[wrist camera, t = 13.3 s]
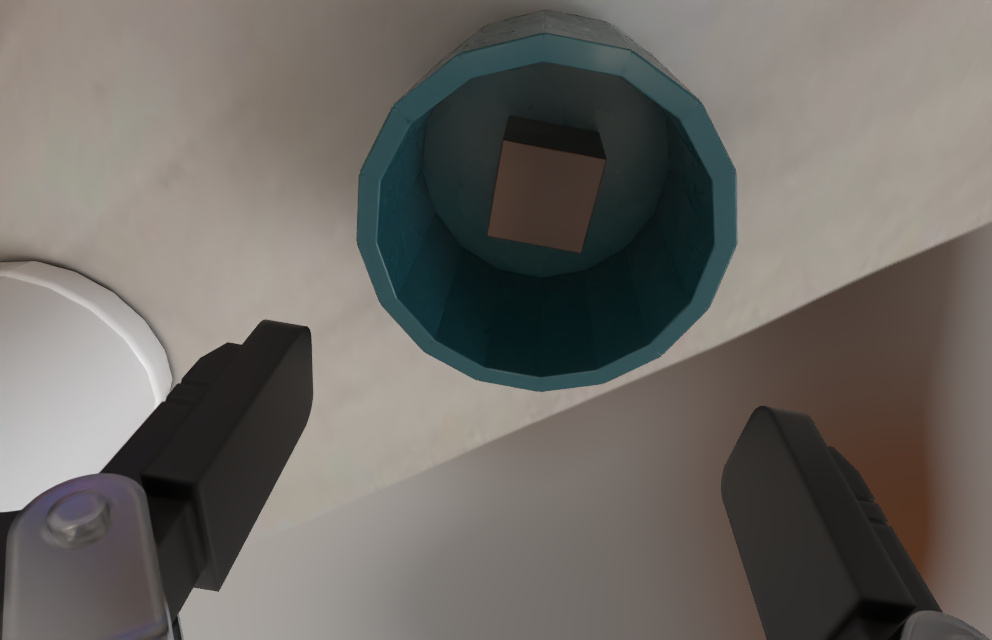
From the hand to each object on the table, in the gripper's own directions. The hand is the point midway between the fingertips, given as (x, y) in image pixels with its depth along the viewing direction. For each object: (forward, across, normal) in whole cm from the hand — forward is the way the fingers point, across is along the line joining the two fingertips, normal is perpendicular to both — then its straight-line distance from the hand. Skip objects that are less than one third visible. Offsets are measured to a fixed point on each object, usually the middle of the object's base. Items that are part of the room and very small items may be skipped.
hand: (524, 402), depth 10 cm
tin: (+21, 0, +2) cm, 21 cm away
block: (+20, 0, +2) cm, 20 cm away
